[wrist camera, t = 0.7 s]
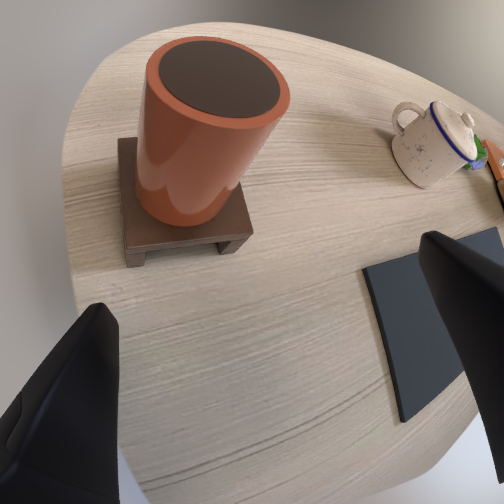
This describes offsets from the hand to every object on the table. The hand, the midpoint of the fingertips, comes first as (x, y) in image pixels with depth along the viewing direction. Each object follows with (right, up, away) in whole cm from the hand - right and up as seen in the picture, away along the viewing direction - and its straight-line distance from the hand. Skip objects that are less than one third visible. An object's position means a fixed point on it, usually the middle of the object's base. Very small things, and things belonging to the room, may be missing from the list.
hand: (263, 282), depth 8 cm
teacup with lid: (+21, +14, +29) cm, 38 cm away
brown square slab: (-6, +4, +15) cm, 16 cm away
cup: (-5, +5, +11) cm, 13 cm away
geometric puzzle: (+39, +18, +38) cm, 57 cm away
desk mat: (+30, -5, +26) cm, 40 cm away
